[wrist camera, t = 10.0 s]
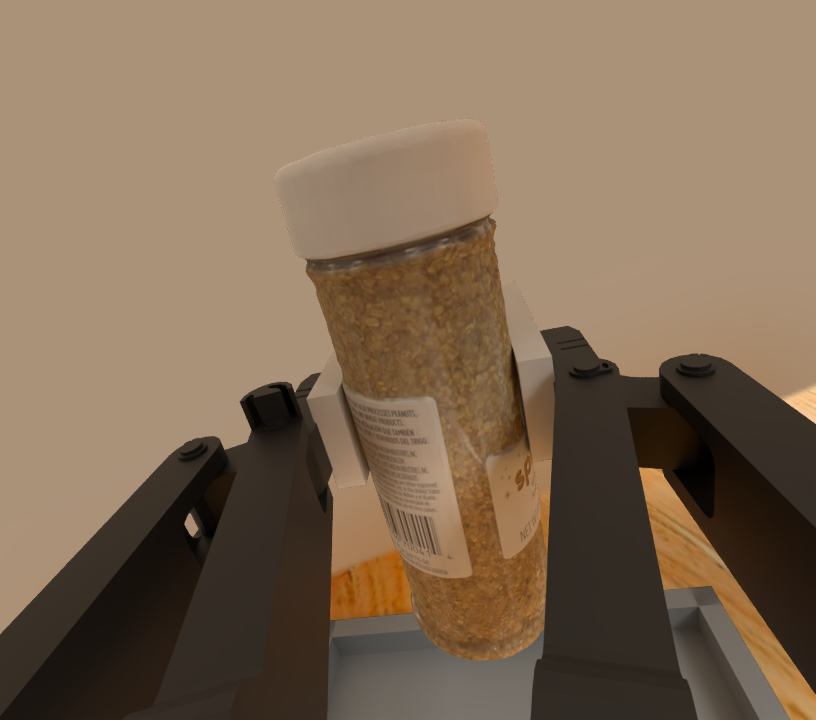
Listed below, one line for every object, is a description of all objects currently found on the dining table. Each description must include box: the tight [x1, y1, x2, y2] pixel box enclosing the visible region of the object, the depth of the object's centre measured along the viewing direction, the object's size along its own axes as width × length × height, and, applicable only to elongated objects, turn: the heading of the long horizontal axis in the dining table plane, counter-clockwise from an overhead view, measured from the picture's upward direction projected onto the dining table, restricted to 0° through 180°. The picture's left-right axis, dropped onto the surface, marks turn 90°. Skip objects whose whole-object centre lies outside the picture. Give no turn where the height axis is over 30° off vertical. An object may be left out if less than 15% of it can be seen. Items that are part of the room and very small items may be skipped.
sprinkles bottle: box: [274, 119, 547, 661], centre depth 12 cm, size 5×5×13 cm
